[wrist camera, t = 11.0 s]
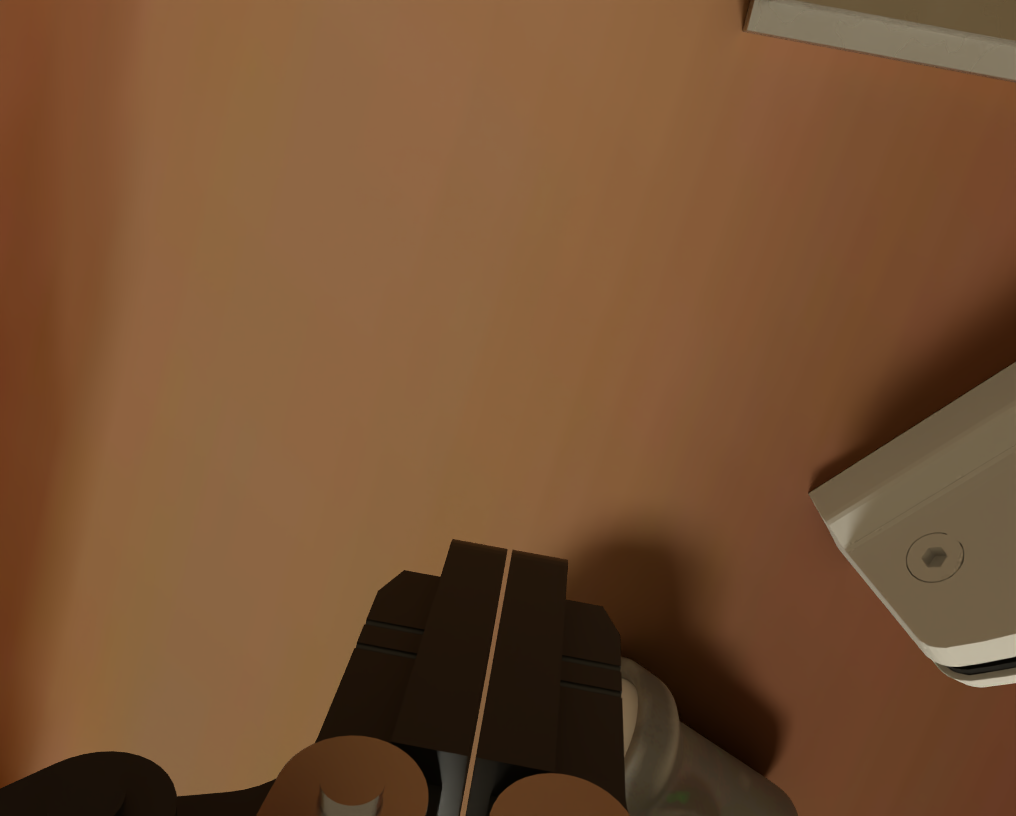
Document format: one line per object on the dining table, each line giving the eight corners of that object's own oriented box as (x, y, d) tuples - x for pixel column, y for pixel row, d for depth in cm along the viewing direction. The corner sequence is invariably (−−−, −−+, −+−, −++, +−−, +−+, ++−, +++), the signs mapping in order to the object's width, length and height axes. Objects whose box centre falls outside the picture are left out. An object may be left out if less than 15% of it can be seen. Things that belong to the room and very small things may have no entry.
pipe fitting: (513, 722, 43) (523, 908, 34) (624, 618, 41) (666, 787, 32) (682, 832, 47) (733, 1031, 37) (793, 742, 44) (877, 928, 35)
